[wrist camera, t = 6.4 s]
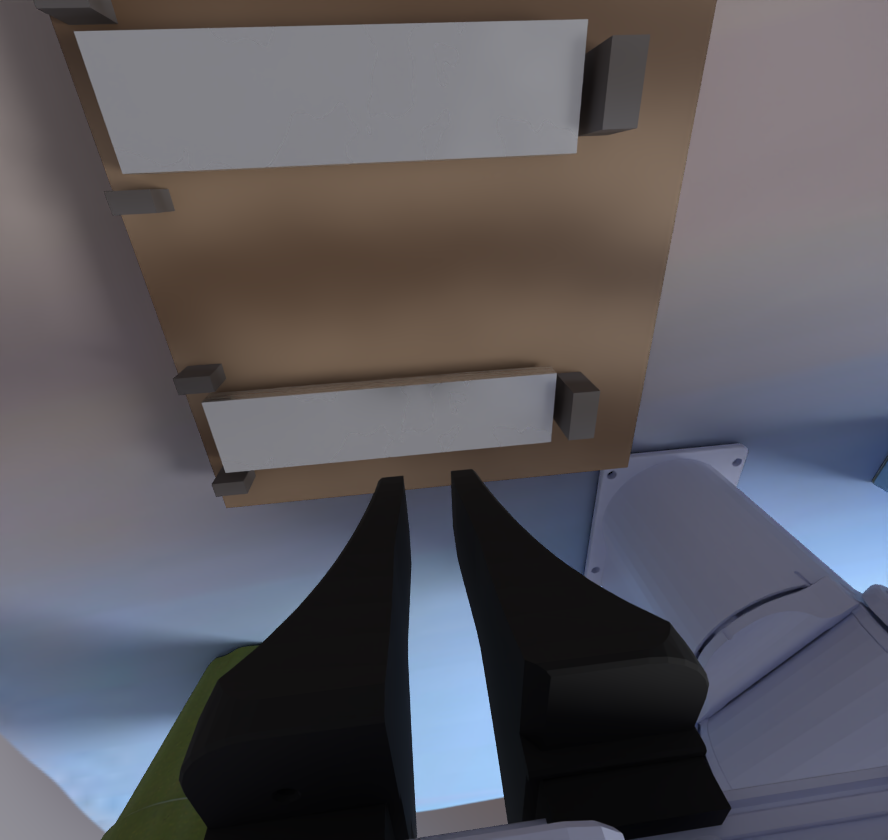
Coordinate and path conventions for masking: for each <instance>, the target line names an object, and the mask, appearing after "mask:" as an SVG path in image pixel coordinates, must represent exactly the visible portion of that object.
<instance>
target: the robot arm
mask: <svg viewBox="0 0 888 840" xmlns="http://www.w3.org/2000/svg"><path fill="white" fill-rule="evenodd" d="M747 454H748V449H747V448H746V447H745V446H744V445H742V444H739V443H736V444H726V445H716V446H706V447H696V448H686V449H676V450H666V451H655V452H645V453H635V454H630V458H629V464H628V467H627V468H617V469H607V470H600V475H599V482H598V488H597V495H596V501H595V507H594V514H593V520H592V527H591V533H590V540H589V546H588V553H587V559H586V566H585V572H584V576H583V575H582V574H580V573H579V572H577V571H576V570H574V569H573V568H571V567H570V566H568V565H567V564H566V563H564V562H563V561H562V560H560V559H559V558H558V557H556V556H555V555H554V554H552V553H551V552H550V551H549V550H548V549H546V548H545V547H544V546H543V545H542V544H540V543H539V542H538V541H537V540H536V539H535V538H534V537H532V536H531V535H530V534H529V533H528V532H527V531H526V530H525V529H524V528H523V527H522V526H521V525H520V524H519V523H518V522H517V521H516V520H515V519H514V518H513V517H512V516H511V515H510V514H509V513H508V512H507V510H506V509H505V508H504V507H503V506H502V505H501V504H500V503H499V502H498V500H497V499H496V498H495V497H494V496H493V494H492V493H491V492H490V491H489V489H488V488H487V487H486V486H485V484H484V483H483V482H482V480H481V479H480V477H479V476H478V475H477V473H476V472H475V471H474V470H473V469H466V470H455V471H451V491H452V513H453V530H454V537H455V543H456V550H457V557H458V562H459V565H460V569H461V573H462V577H463V581H464V585H465V588H466V592H467V596H468V600H469V603H470V607H471V611H472V615H473V619H474V622H475V626H476V630H477V634H478V639H479V643H480V648H481V654H482V660H483V666H484V672H485V678H486V684H487V690H488V696H489V703H490V709H491V715H492V721H493V728H494V734H495V741H496V747H497V753H498V760H499V766H500V773H501V780H502V786H503V793H504V800H505V807H506V813H507V820H508V824H506V825H499V826H493V827H486V828H479V829H473V830H466V831H461V832H454V833H447V834H441V835H434V836H428V837H422V838H417V828H416V810H415V792H414V773H413V753H412V733H411V712H410V691H409V669H408V628H409V607H410V585H411V549H410V533H409V523H408V514H407V504H406V495H405V486H404V476H393V477H383V478H381V479H380V480H379V481H378V483H377V486H376V489H375V492H374V494H373V496H372V499H371V501H370V503H369V505H368V507H367V509H366V511H365V513H364V515H363V517H362V519H361V521H360V523H359V525H358V526H357V528H356V530H355V532H354V533H353V535H352V536H351V538H350V540H349V541H348V543H347V545H346V546H345V548H344V549H343V551H342V552H341V554H340V555H339V557H338V558H337V560H336V561H335V563H334V564H333V565H332V567H331V568H330V569H329V571H328V572H327V573H326V575H325V576H324V577H323V579H322V580H321V581H320V582H319V583H318V585H317V586H316V587H315V588H314V589H313V591H312V592H311V593H310V594H309V595H308V596H307V598H306V599H305V600H304V601H303V602H302V603H301V604H300V606H299V607H298V608H297V609H296V610H295V611H294V612H293V613H292V614H291V615H290V616H289V617H288V618H287V619H286V620H285V621H284V622H283V623H282V624H281V625H280V626H279V627H278V628H277V629H276V630H275V631H274V632H273V633H272V634H271V635H270V636H269V637H268V638H267V639H266V640H265V641H263V642H262V643H261V644H260V645H259V646H258V647H257V648H256V649H254V650H253V651H252V652H251V653H250V654H248V655H247V656H246V657H245V658H244V659H242V660H241V661H240V662H239V663H238V664H237V665H235V666H234V667H233V668H232V669H231V670H229V671H228V672H227V673H226V674H224V675H223V676H222V677H220V678H219V679H218V680H217V682H216V684H215V686H214V688H213V691H212V693H211V695H210V697H209V699H208V701H207V703H206V705H205V707H204V709H203V711H202V713H201V715H200V717H199V720H198V722H197V725H196V728H195V730H194V733H193V736H192V739H191V741H190V744H189V747H188V749H187V752H186V755H185V758H184V760H183V763H182V766H181V769H180V775H179V782H180V785H181V787H182V790H183V792H184V794H185V796H186V797H187V799H188V800H189V801H190V803H191V804H192V806H193V807H194V809H195V810H196V812H197V813H198V815H199V816H200V817H201V819H202V820H203V822H204V823H205V825H206V826H207V830H206V833H205V837H204V840H888V588H887V587H885V586H883V585H878V584H875V585H872V586H870V587H869V588H868V589H867V590H866V591H865V592H864V593H863V594H862V593H860V592H858V591H857V590H855V589H853V588H852V587H851V586H850V585H849V584H848V583H847V582H845V581H844V580H843V579H842V578H841V577H840V576H838V575H837V574H836V573H835V572H834V571H833V570H832V569H830V568H829V567H828V566H827V565H826V564H825V563H823V562H822V561H821V560H820V559H819V558H818V557H817V556H815V555H814V554H813V553H812V552H811V551H810V550H809V549H807V548H806V547H805V546H804V545H803V544H802V543H800V542H799V541H798V540H797V539H796V538H795V537H794V536H792V535H791V534H790V533H789V532H788V531H787V530H785V529H784V528H783V527H782V526H781V525H780V524H779V523H777V522H776V521H775V520H774V519H773V518H772V517H770V516H769V515H768V514H767V513H766V512H765V511H764V510H762V509H761V508H760V507H759V506H758V505H757V504H755V503H754V502H753V501H752V500H751V499H750V498H749V497H747V496H746V495H745V494H744V493H743V492H742V491H741V490H739V489H738V488H737V487H736V486H737V484H738V481H739V478H740V475H741V472H742V469H743V466H744V463H745V460H746V457H747ZM734 460H735V461H734ZM733 461H734V462H733ZM611 471H613V472H612V473H611V474H610V475H608V473H609V472H611ZM594 567H595V568H594ZM601 586H602V587H603V588H602V587H601Z"/></svg>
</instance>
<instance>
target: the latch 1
mask: <svg viewBox="0 0 888 840" xmlns="http://www.w3.org/2000/svg"><path fill="white" fill-rule="evenodd" d="M587 27H588V19H574V20H532V21H490V22H448V23H406V24H363V25H321V26H279V27H237V28H195V29H153V30H111V31H74V34H75V37H76V40H77V43H78V46H79V49H80V51H81V54H82V57H83V60H84V63H85V66H86V69H87V72H88V75H89V78H90V80H91V83H92V86H93V89H94V92H95V95H96V98H97V101H98V104H99V107H100V110H101V112H102V115H103V118H104V121H105V124H106V127H107V130H108V133H109V136H110V139H111V142H112V144H113V147H114V150H115V153H116V156H117V159H118V162H119V165H120V168H121V171H122V174H136V175H139V174H161V173H183V172H205V171H227V170H249V169H271V168H293V167H315V166H337V165H358V164H380V163H402V162H424V161H446V160H468V159H490V158H512V157H534V156H556V155H570V154H575V153H577V142H578V130H579V119H580V107H581V96H582V84H583V73H584V61H585V50H586V38H587Z"/></svg>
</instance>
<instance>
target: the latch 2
mask: <svg viewBox="0 0 888 840" xmlns="http://www.w3.org/2000/svg"><path fill="white" fill-rule="evenodd" d="M556 377H557V373H556V372H555V371H554V369H553V368H552V367H551V366H537V367H525V368H513V369H501V370H488V371H476V372H464V373H452V374H439V375H427V376H415V377H403V378H390V379H378V380H366V381H354V382H342V383H329V384H317V385H305V386H293V387H280V388H268V389H256V390H244V391H231V392H219V393H210V394H209V395H208V396H207V397H206V398H205V399H204V400H203V402H202V406H203V409H204V412H205V414H206V417H207V420H208V423H209V426H210V429H211V432H212V435H213V438H214V441H215V444H216V446H217V449H218V452H219V455H220V458H221V461H222V464H223V467H224V470H225V473H230V472H240V471H251V470H261V469H272V468H282V467H293V466H303V465H314V464H324V463H335V462H345V461H356V460H367V459H377V458H388V457H398V456H409V455H419V454H430V453H440V452H451V451H461V450H472V449H482V448H493V447H503V446H514V445H524V444H535V443H546V442H551V435H552V423H553V412H554V400H555V388H556Z"/></svg>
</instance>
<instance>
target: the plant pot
mask: <svg viewBox="0 0 888 840" xmlns="http://www.w3.org/2000/svg"><path fill="white" fill-rule="evenodd" d="M257 647H258V646H246V647H241V648H238V649H236V650H234V651H233V652H231V653H229V654H227V655H226V656H223V657H219V658H216V659H215V660H213V661H212V662H211V663H210V665H209V666H208V667H207V669H206V671H205V672H204V674H203V676H202V677H201V679H200V681H199V682H198V684H197V686H196V687H195V689H194V691H193V692H192V694H191V696H190V697H189V699H188V701H187V703H186V704H185V706H184V708H183V709H182V711H181V713H180V715H179V716H178V718H177V720H176V721H175V723H174V725H173V726H172V728H171V730H170V732H169V733H168V735H167V737H166V738H165V740H164V742H163V744H162V745H161V747H160V749H159V750H158V752H157V754H156V756H155V757H154V759H153V761H152V762H151V764H150V766H149V767H148V769H147V771H146V773H145V774H144V776H143V778H142V779H141V781H140V783H139V784H138V786H137V788H136V790H135V791H134V793H133V795H132V796H131V798H130V800H129V801H128V803H127V805H126V807H125V808H124V810H123V812H122V813H121V815H120V817H119V818H118V820H117V822H116V823H115V824H114V825H113V826H112V827H111V828H110V829H109V830H108V831H107V832H106V833H105V834H104V836H103V837H102V839H101V840H204V837H205V833H206V830H207V826H206V825H205V823H204V822H203V820H202V819H201V817H200V816H199V815H198V813H197V812H196V810H195V809H194V807H193V806H192V804H191V803H190V801H189V800H188V799H187V797H186V796H185V794H184V792H183V790H182V787H181V785H180V782H179V775H180V769H181V766H182V763H183V760H184V758H185V755H186V752H187V749H188V747H189V744H190V741H191V739H192V736H193V733H194V730H195V728H196V725H197V722H198V720H199V717H200V715H201V713H202V711H203V709H204V707H205V705H206V703H207V701H208V699H209V697H210V695H211V693H212V691H213V688H214V686H215V684H216V682H217V680H218V679H219V678H220V677H222V676H223V675H224V674H226V673H227V672H228V671H229V670H231V669H232V668H233V667H234V666H235V665H237V664H238V663H239V662H240V661H241V660H242V659H244V658H245V657H246V656H247V655H248V654H250V653H251V652H252V651H253V650H254V649H256V648H257Z"/></svg>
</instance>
